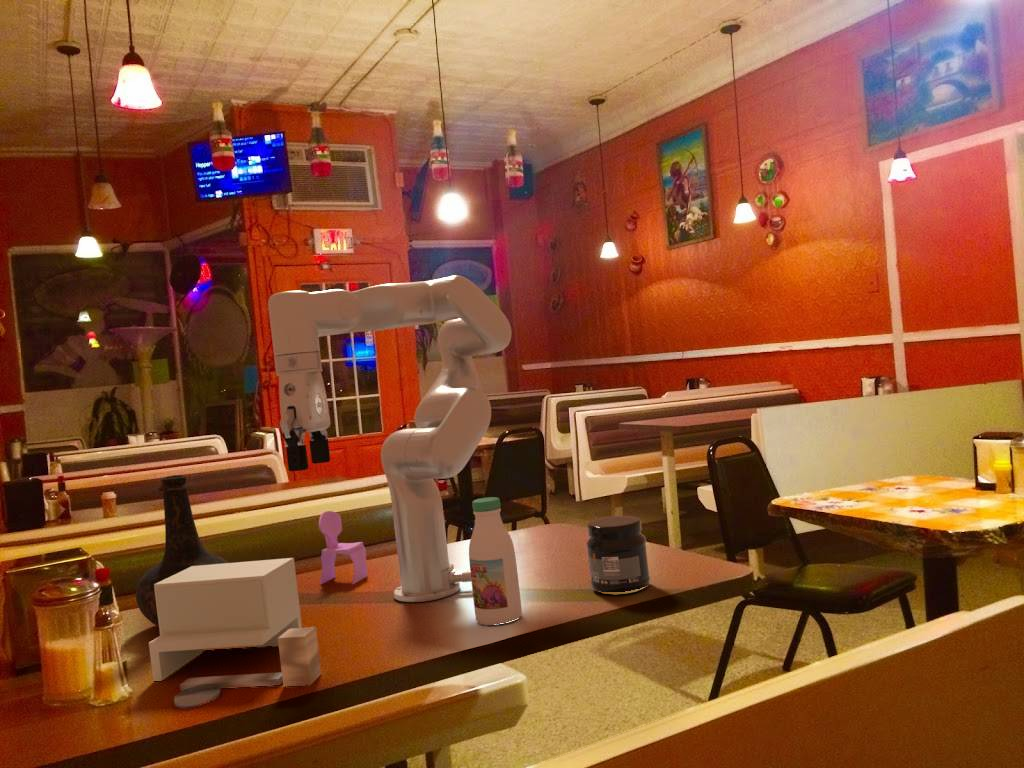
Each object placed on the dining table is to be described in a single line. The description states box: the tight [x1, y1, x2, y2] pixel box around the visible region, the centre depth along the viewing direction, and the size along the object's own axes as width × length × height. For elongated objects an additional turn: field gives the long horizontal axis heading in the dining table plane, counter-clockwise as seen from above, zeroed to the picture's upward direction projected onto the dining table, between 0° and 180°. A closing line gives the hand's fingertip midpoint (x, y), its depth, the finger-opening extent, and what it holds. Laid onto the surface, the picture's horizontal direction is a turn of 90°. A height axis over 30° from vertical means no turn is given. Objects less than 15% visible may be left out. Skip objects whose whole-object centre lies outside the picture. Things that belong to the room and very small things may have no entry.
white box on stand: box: [148, 557, 303, 682], centre depth 126 cm, size 18×14×14 cm
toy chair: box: [318, 510, 369, 586], centre depth 171 cm, size 8×9×15 cm
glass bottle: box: [135, 474, 230, 628], centre depth 152 cm, size 18×18×28 cm
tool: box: [179, 626, 322, 692], centre depth 115 cm, size 20×4×7 cm, turn 82°
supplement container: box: [585, 515, 651, 592], centre depth 142 cm, size 10×10×12 cm
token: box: [173, 684, 222, 709], centre depth 112 cm, size 6×6×1 cm
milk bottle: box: [468, 496, 523, 626], centre depth 132 cm, size 8×8×20 cm
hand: (310, 466), depth 135 cm, fingers open, 9 cm apart
